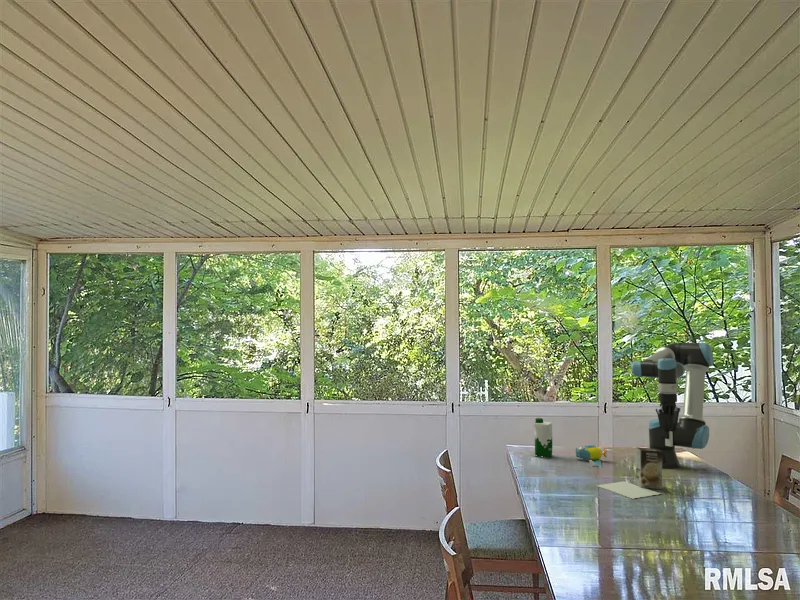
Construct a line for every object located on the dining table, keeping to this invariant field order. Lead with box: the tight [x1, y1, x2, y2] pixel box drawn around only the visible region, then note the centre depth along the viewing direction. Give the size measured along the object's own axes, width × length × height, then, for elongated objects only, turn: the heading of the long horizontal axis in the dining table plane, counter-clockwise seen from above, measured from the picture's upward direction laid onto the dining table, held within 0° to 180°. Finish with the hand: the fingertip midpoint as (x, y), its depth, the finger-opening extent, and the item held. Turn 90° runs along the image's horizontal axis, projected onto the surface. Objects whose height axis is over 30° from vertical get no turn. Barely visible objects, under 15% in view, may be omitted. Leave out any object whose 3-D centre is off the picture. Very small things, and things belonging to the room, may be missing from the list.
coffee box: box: [635, 447, 663, 490], centre depth 236 cm, size 9×6×16 cm
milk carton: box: [533, 417, 553, 458], centre depth 295 cm, size 9×9×20 cm
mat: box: [596, 480, 662, 500], centre depth 231 cm, size 16×20×1 cm
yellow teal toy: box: [575, 444, 607, 467], centre depth 284 cm, size 28×9×15 cm
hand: (669, 445), depth 241 cm, fingers closed
